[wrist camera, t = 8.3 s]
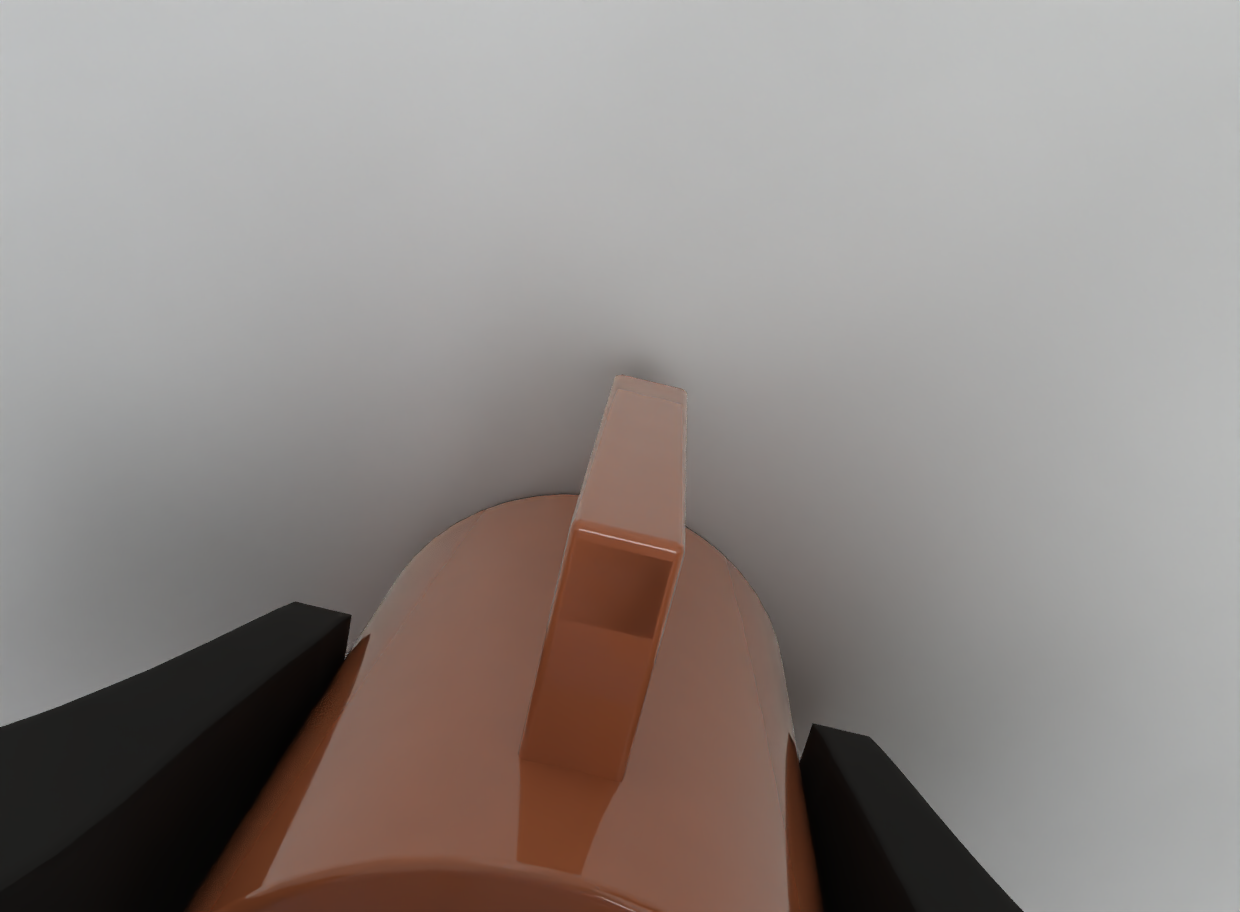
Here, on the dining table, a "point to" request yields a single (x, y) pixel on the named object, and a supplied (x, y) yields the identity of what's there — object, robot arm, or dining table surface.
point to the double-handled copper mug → (547, 720)
